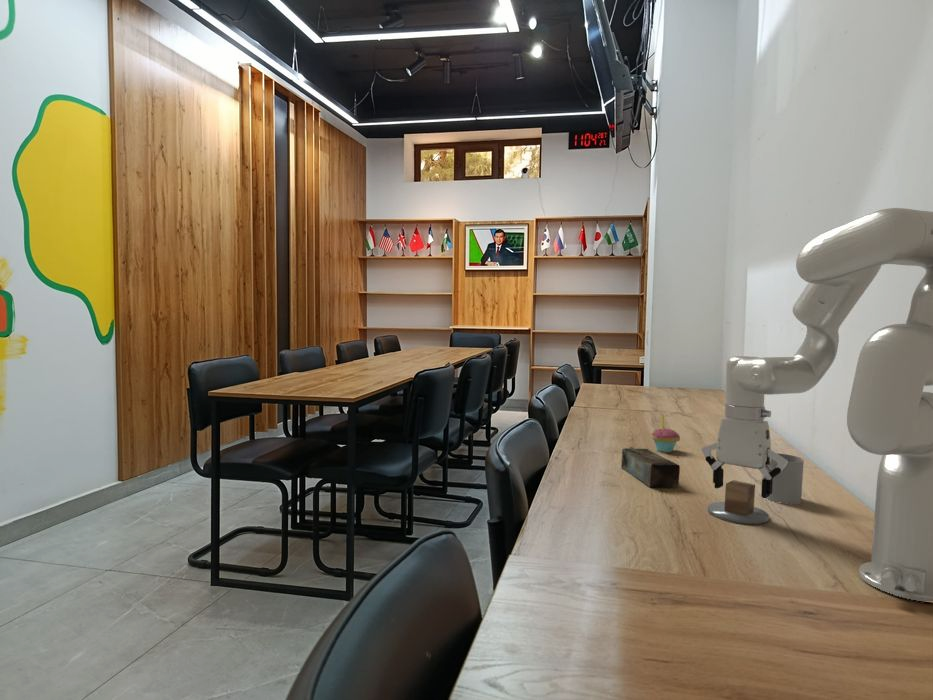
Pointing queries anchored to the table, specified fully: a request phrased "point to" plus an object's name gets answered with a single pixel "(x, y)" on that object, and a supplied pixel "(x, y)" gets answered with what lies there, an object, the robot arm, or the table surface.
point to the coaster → (753, 518)
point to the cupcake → (665, 438)
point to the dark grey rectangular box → (650, 468)
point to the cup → (787, 481)
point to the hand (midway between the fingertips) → (741, 491)
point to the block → (739, 497)
